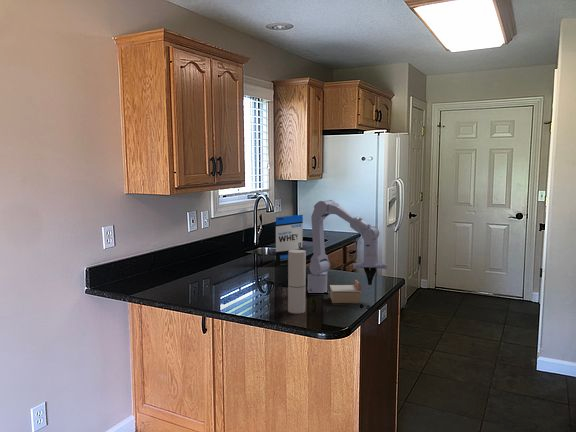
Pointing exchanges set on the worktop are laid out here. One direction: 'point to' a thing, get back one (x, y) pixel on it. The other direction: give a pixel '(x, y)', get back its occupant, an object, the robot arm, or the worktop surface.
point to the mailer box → (345, 297)
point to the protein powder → (288, 237)
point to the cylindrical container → (296, 281)
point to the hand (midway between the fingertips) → (369, 284)
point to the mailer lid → (346, 287)
